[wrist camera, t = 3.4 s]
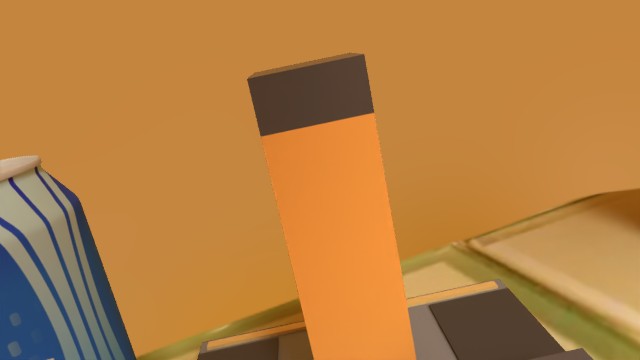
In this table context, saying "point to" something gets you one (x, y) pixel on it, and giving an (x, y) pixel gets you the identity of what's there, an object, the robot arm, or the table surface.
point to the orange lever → (334, 206)
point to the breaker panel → (426, 331)
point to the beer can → (52, 274)
